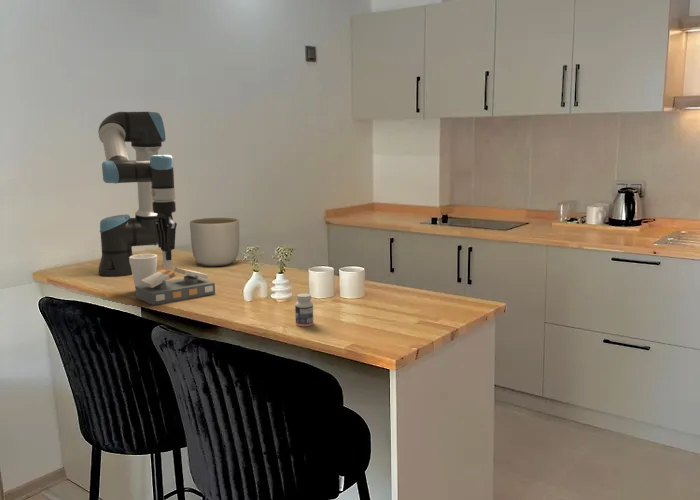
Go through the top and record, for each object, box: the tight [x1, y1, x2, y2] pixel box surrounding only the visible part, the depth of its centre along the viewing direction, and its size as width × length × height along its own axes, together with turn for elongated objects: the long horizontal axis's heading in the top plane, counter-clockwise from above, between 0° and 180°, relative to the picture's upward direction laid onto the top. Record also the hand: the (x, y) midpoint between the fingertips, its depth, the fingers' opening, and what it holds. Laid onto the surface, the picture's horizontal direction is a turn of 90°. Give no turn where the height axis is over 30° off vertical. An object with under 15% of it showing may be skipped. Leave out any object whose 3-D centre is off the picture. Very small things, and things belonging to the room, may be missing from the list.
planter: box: [189, 217, 240, 267], centre depth 282 cm, size 21×21×19 cm
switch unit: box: [134, 275, 216, 306], centre depth 228 cm, size 14×23×6 cm, turn 131°
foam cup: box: [129, 253, 158, 287], centre depth 233 cm, size 10×9×13 cm
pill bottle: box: [294, 293, 314, 327], centre depth 192 cm, size 5×5×9 cm
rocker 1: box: [141, 268, 176, 288], centre depth 223 cm, size 8×9×2 cm
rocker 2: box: [173, 266, 209, 280], centre depth 231 cm, size 8×9×2 cm
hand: (167, 269), depth 225 cm, fingers closed
